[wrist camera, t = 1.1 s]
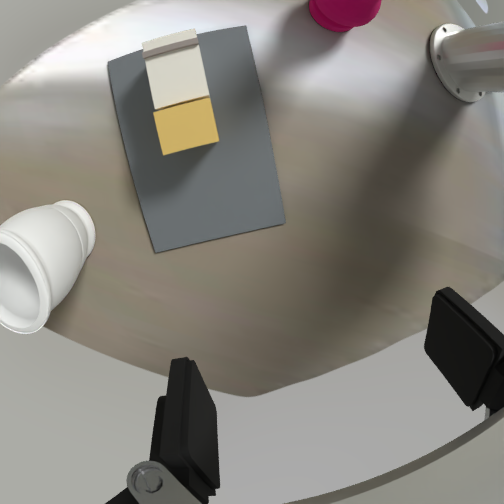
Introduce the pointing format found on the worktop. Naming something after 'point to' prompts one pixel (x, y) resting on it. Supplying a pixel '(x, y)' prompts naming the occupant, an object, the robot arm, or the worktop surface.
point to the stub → (186, 126)
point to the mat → (202, 150)
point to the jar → (41, 261)
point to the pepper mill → (343, 13)
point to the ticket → (175, 69)
